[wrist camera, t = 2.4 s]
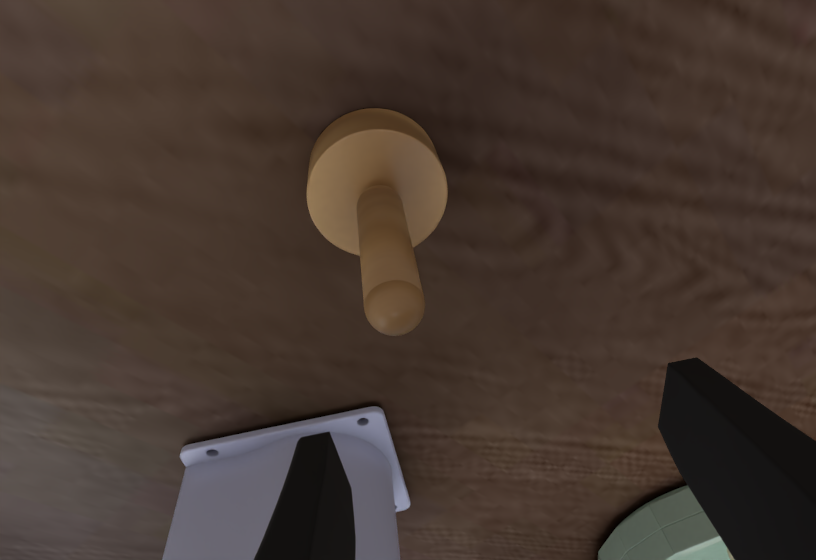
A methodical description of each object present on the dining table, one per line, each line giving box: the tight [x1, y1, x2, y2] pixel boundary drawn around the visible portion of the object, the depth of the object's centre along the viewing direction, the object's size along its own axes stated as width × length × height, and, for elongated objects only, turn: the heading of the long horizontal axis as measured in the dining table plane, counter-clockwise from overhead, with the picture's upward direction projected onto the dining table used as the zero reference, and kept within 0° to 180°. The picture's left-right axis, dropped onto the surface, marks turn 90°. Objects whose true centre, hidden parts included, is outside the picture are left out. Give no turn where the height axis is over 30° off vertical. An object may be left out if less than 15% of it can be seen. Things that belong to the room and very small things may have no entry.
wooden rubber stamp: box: [307, 108, 448, 336], centre depth 15 cm, size 4×4×8 cm
